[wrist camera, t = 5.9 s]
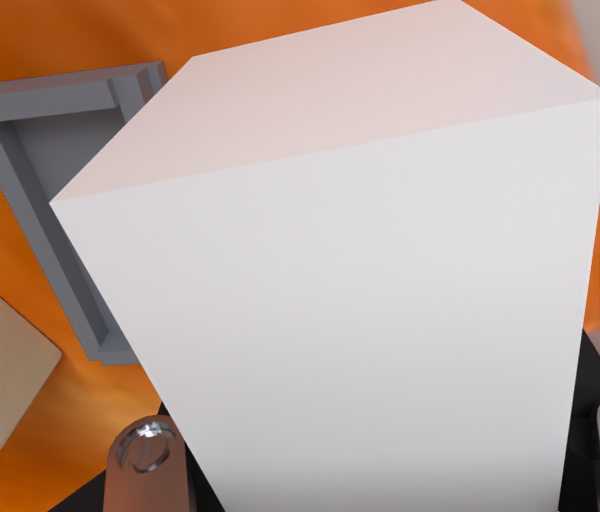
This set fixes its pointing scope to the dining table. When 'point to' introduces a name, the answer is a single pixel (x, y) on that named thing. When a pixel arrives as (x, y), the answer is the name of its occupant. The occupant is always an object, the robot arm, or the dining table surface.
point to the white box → (357, 261)
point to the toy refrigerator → (21, 367)
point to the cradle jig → (68, 177)
